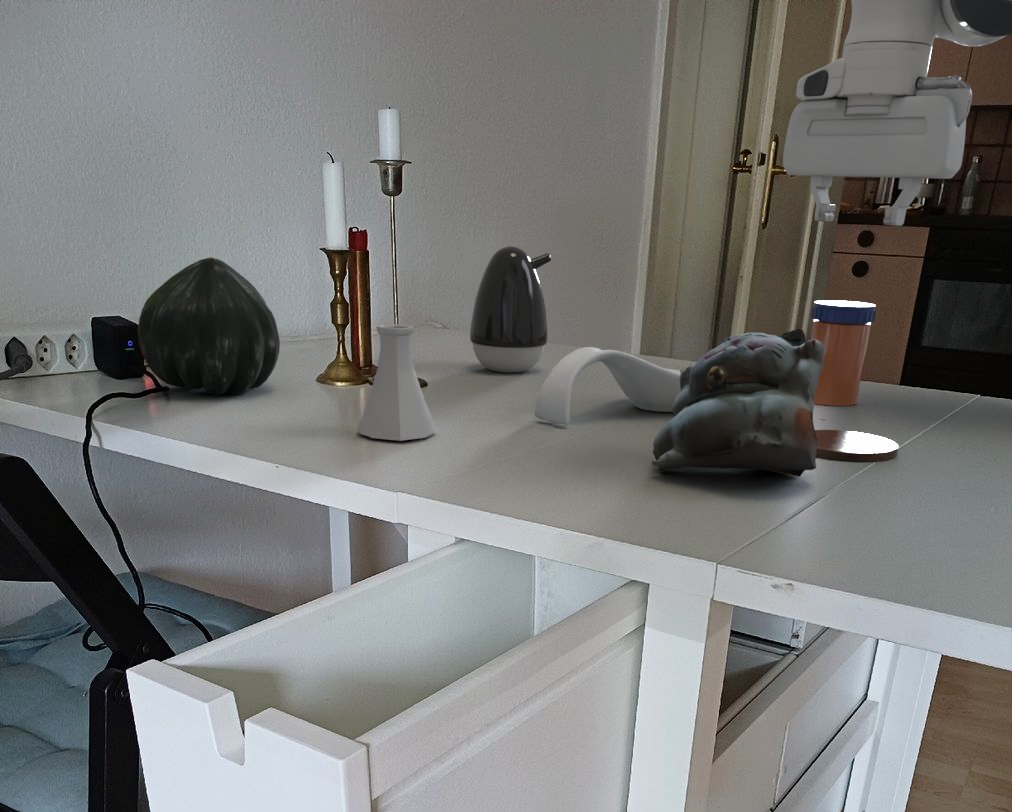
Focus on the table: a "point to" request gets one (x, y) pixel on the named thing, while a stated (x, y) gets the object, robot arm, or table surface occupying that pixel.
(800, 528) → the table surface
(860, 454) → the coaster
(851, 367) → the jar
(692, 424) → the lucky cat figurine
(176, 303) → the squash
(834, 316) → the jar lid
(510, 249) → the pump dispenser
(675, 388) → the spoon rest
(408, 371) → the flask
